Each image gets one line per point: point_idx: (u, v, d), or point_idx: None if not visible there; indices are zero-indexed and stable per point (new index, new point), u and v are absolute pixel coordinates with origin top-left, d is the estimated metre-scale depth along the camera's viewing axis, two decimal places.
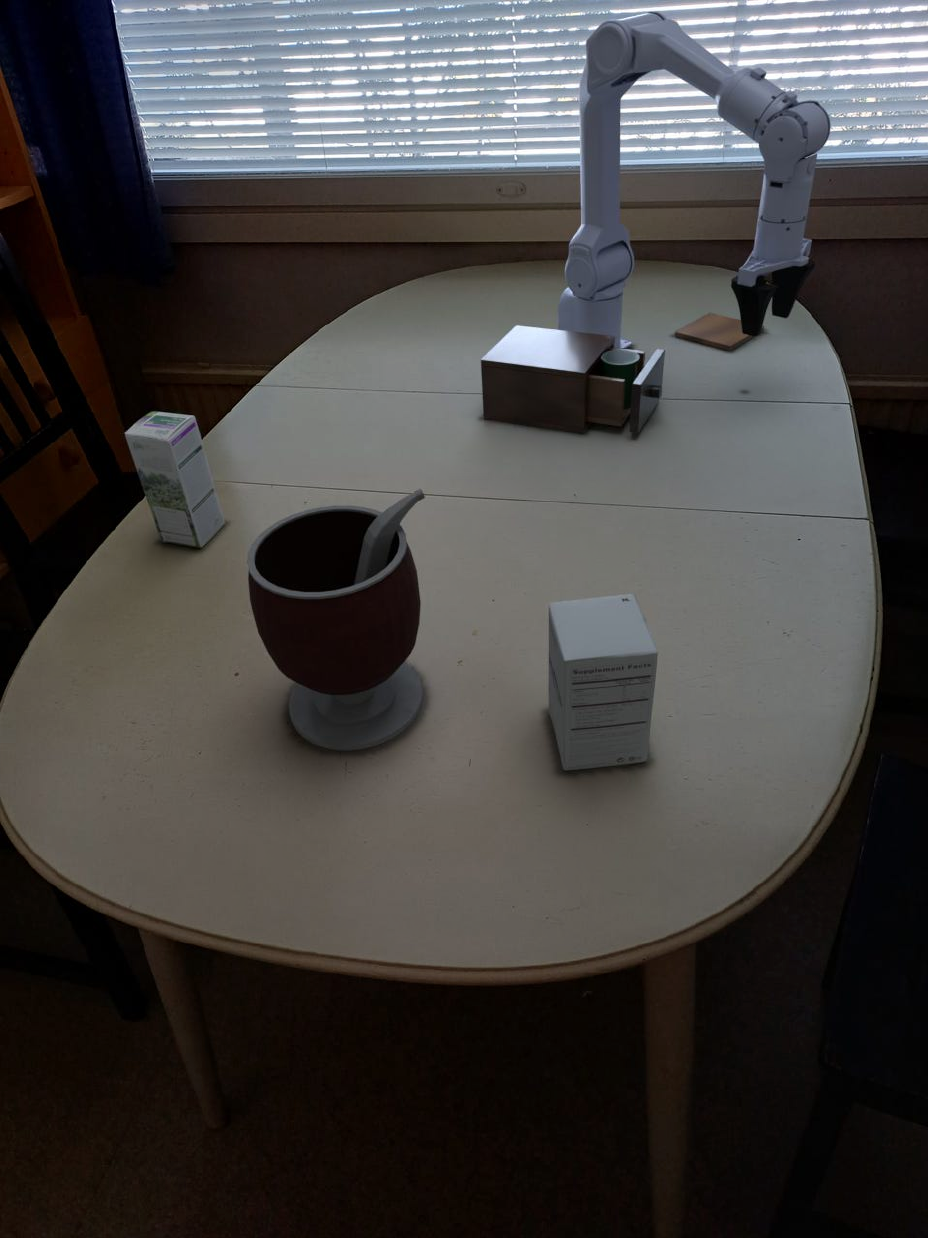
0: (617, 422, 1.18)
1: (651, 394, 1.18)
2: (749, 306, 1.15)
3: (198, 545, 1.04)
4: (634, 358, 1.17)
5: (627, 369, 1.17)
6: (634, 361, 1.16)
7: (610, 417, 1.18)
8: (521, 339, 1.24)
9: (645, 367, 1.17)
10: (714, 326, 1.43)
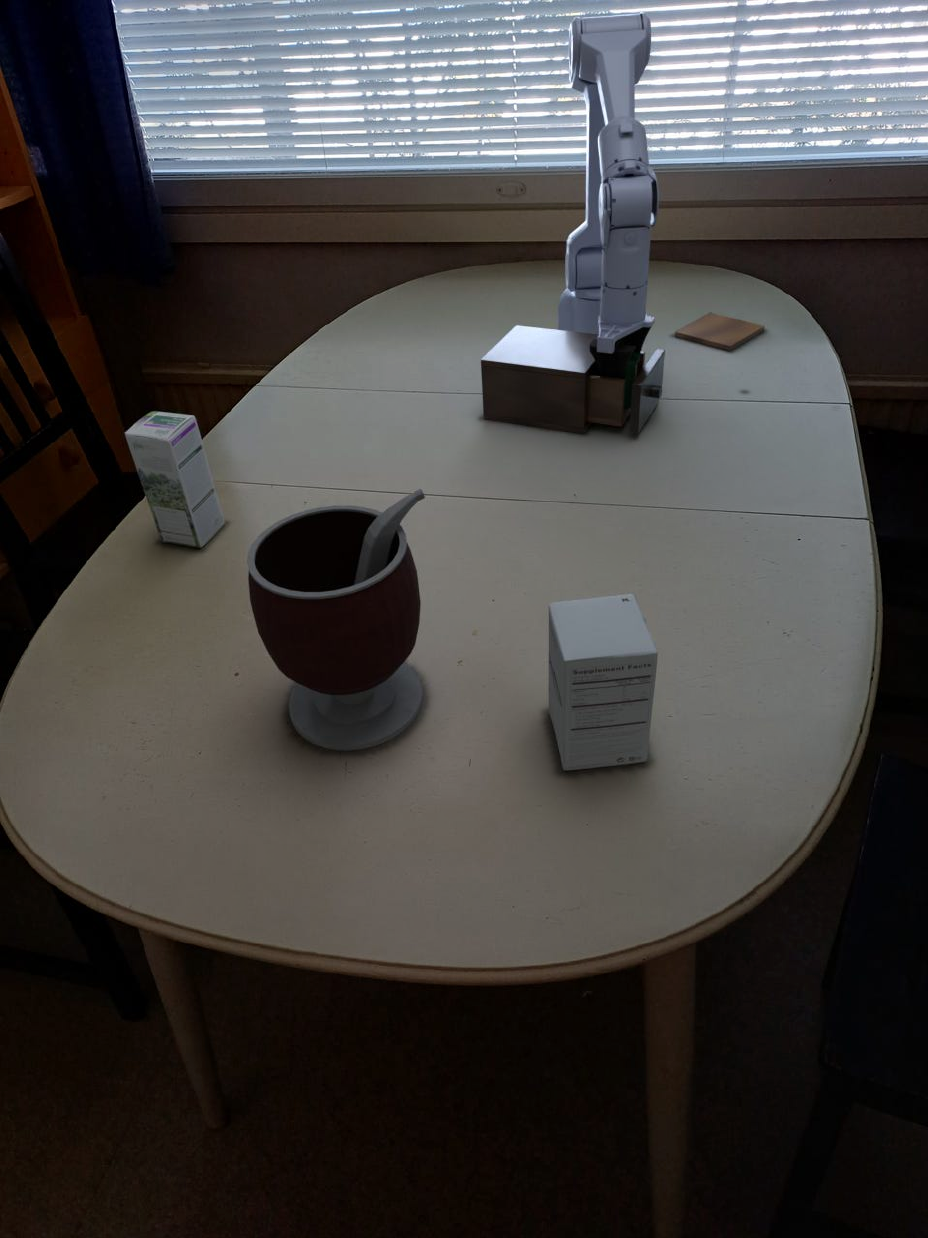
0: (617, 422, 1.18)
1: (651, 394, 1.18)
2: (609, 368, 1.15)
3: (198, 545, 1.04)
4: (634, 358, 1.17)
5: (627, 369, 1.17)
6: (634, 361, 1.16)
7: (610, 417, 1.18)
8: (521, 339, 1.24)
9: (645, 367, 1.17)
10: (714, 326, 1.43)
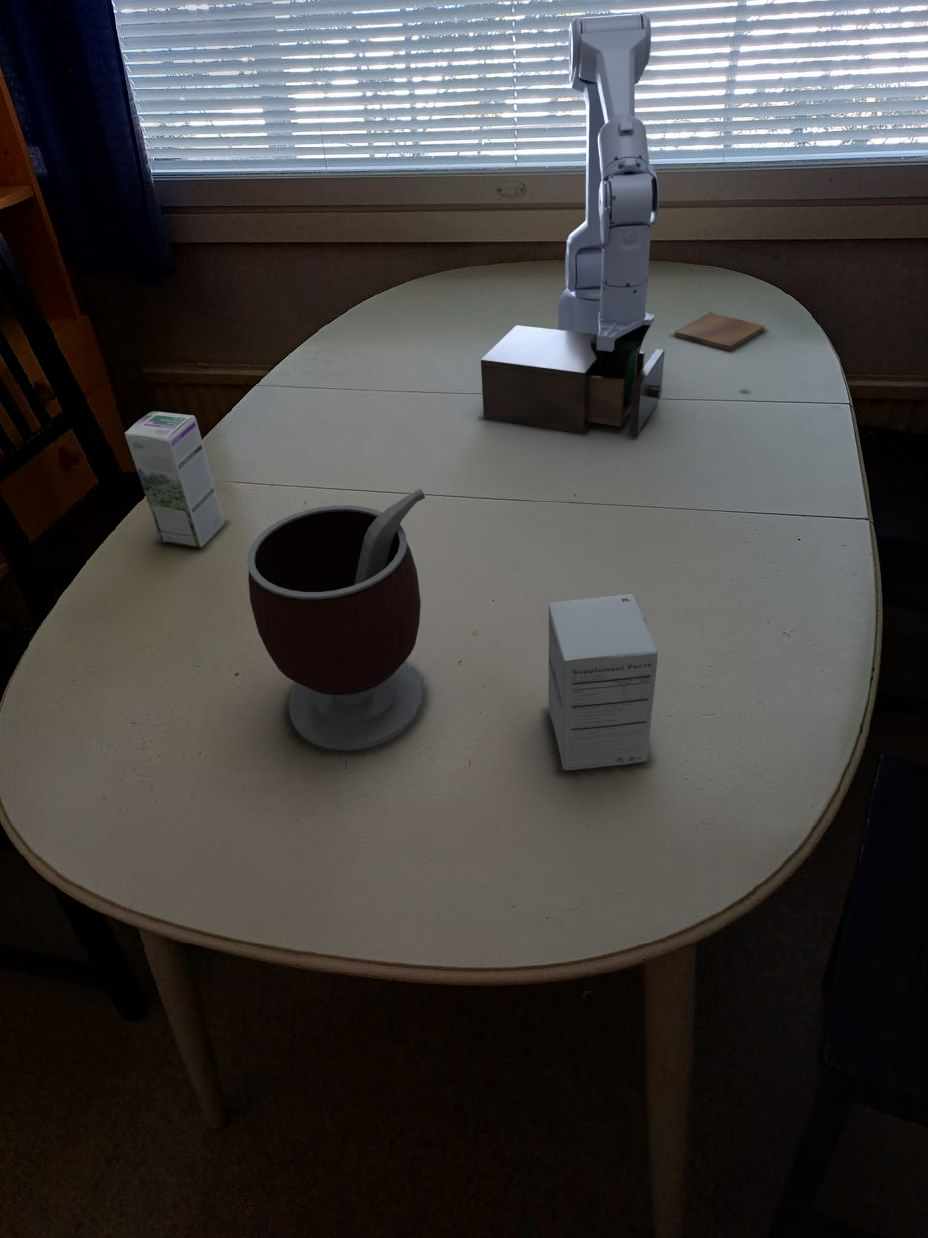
0: (617, 422, 1.18)
1: (651, 394, 1.18)
2: (610, 364, 1.16)
3: (198, 545, 1.04)
4: None
5: None
6: (634, 348, 1.15)
7: (610, 417, 1.18)
8: (521, 339, 1.24)
9: (645, 367, 1.17)
10: (714, 326, 1.43)
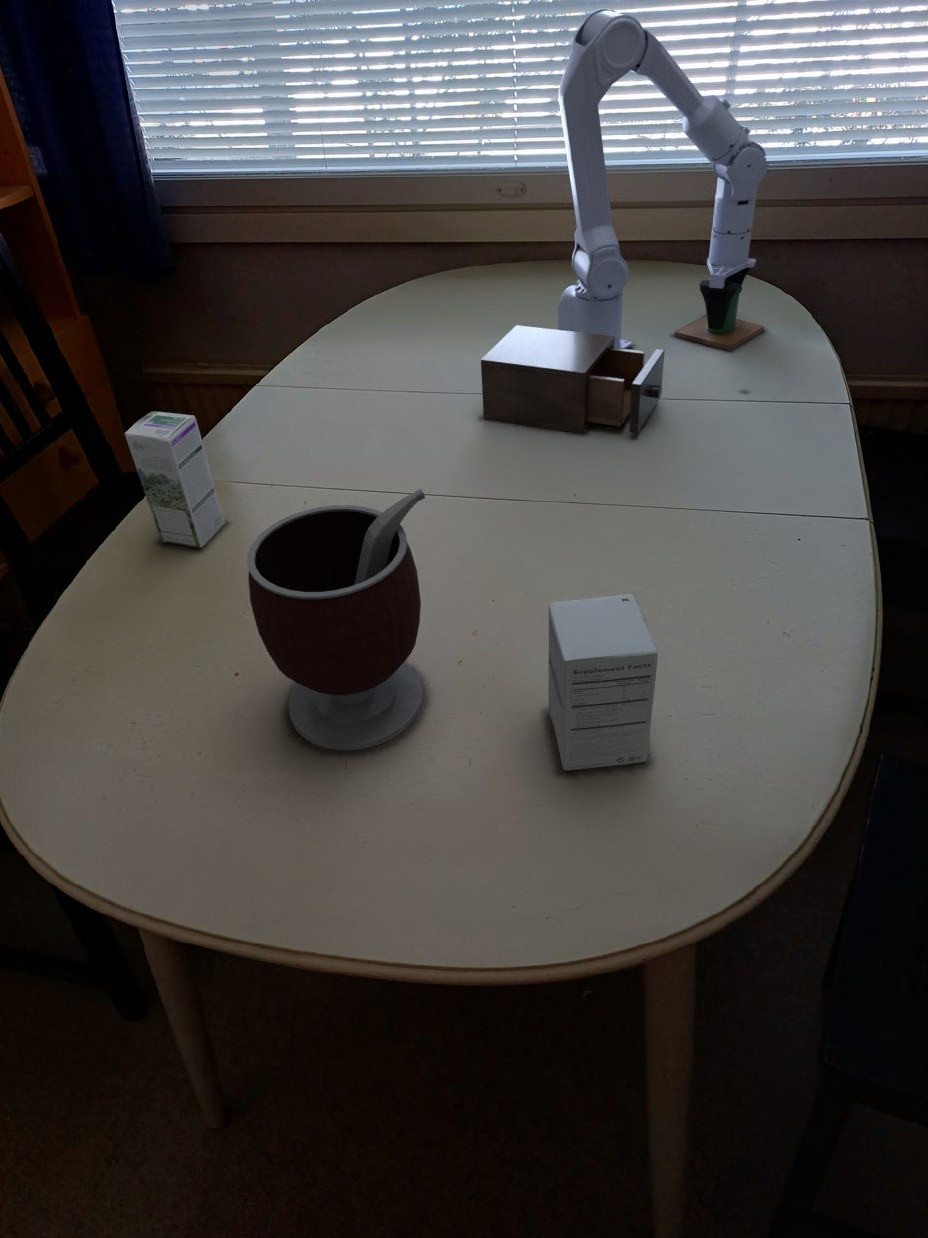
0: (617, 422, 1.18)
1: (651, 394, 1.18)
2: (714, 305, 1.36)
3: (198, 545, 1.04)
4: None
5: None
6: (738, 290, 1.37)
7: (610, 417, 1.18)
8: (521, 339, 1.24)
9: (645, 367, 1.17)
10: None
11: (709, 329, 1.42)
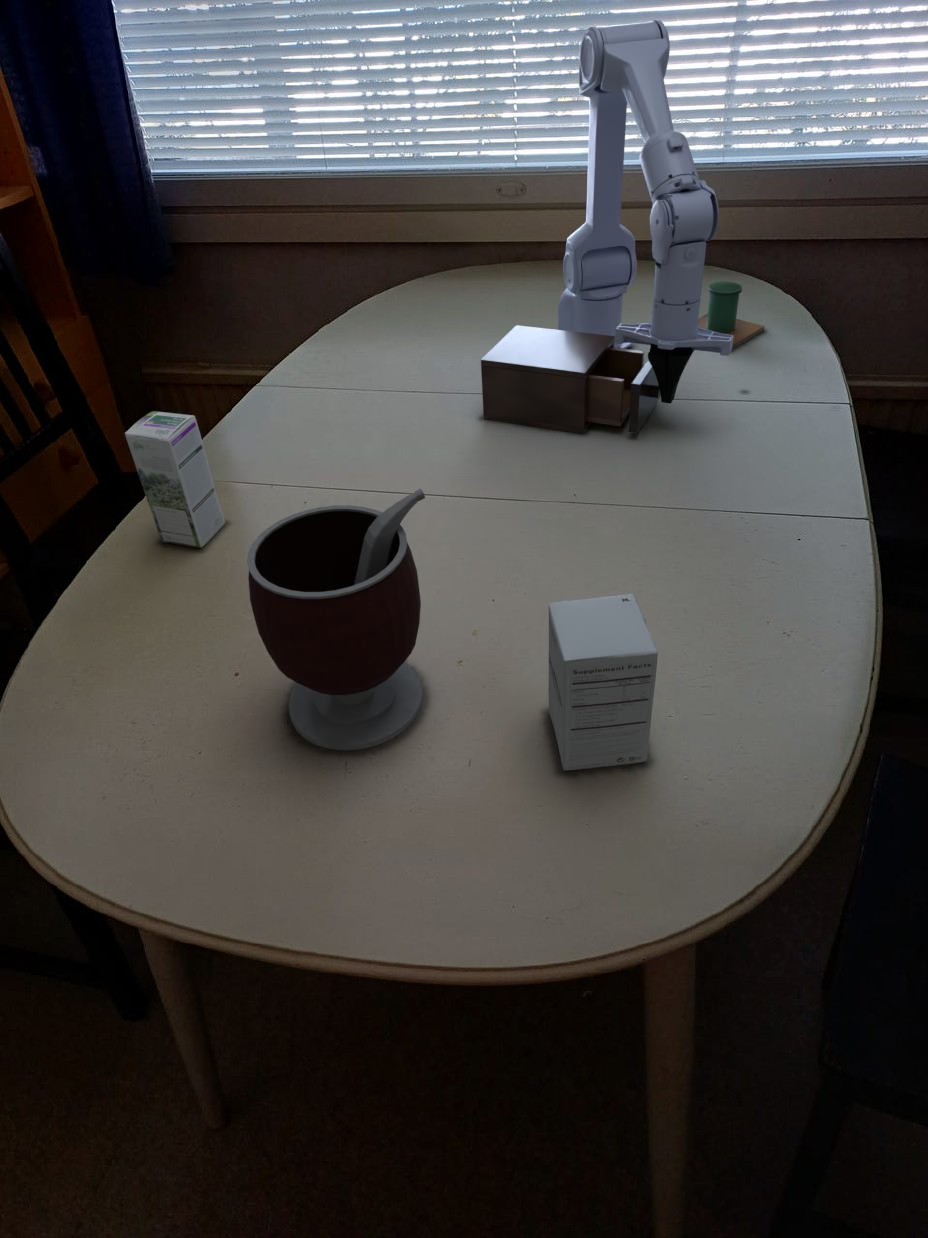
0: (616, 422, 1.18)
1: (650, 394, 1.18)
2: None
3: (198, 545, 1.04)
4: (737, 288, 1.38)
5: (732, 296, 1.37)
6: (738, 290, 1.37)
7: (609, 417, 1.18)
8: (521, 339, 1.24)
9: (644, 367, 1.17)
10: None
11: (709, 329, 1.42)
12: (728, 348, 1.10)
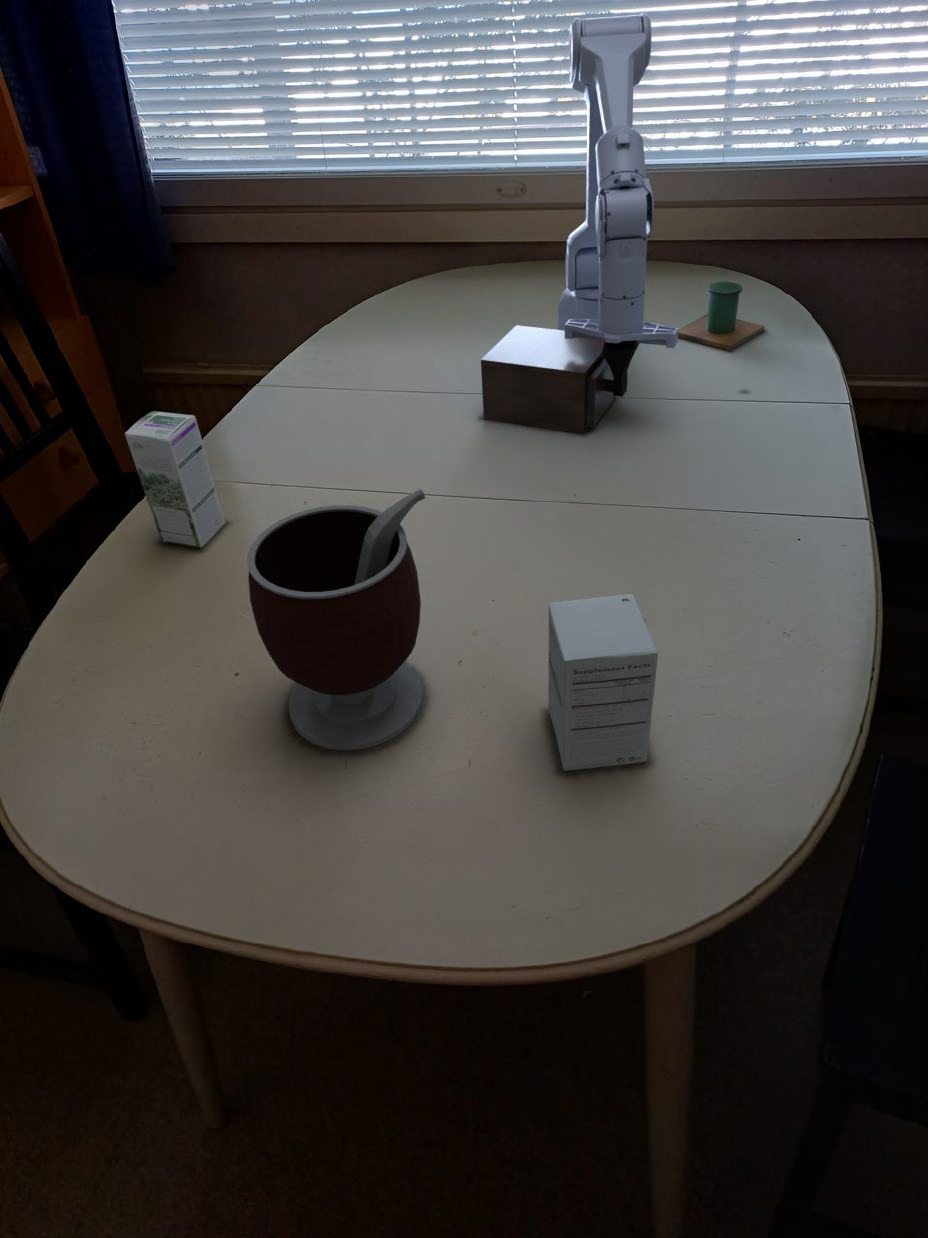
0: None
1: (607, 388, 1.20)
2: None
3: (198, 545, 1.04)
4: (737, 288, 1.38)
5: (732, 296, 1.37)
6: (738, 290, 1.37)
7: None
8: (521, 339, 1.24)
9: (601, 362, 1.19)
10: None
11: (709, 329, 1.42)
12: (673, 340, 1.13)
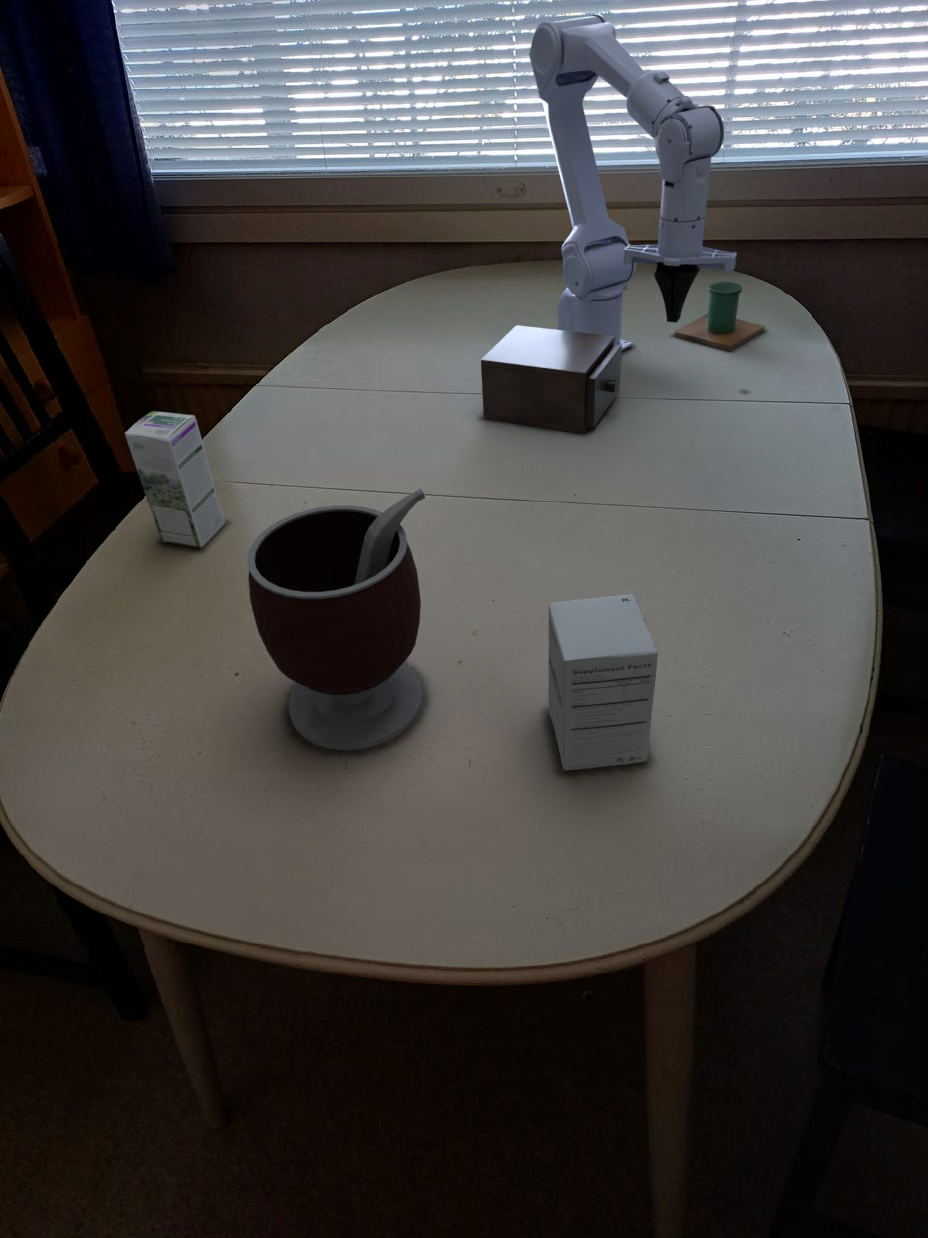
0: None
1: (607, 388, 1.20)
2: None
3: (198, 545, 1.04)
4: (737, 288, 1.38)
5: (732, 296, 1.37)
6: (738, 290, 1.37)
7: None
8: (521, 339, 1.24)
9: (601, 362, 1.19)
10: None
11: (709, 329, 1.42)
12: (731, 264, 1.16)
